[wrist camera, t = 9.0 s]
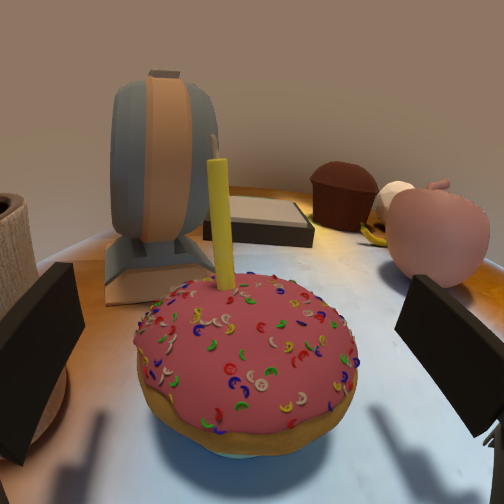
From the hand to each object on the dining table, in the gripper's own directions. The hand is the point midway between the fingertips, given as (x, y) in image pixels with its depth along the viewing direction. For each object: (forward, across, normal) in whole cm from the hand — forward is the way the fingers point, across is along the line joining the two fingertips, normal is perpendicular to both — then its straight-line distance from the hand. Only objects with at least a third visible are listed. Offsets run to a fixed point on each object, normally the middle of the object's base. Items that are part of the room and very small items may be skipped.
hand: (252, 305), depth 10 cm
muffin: (+35, +19, -7) cm, 41 cm away
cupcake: (0, 0, -7) cm, 7 cm away
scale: (+30, +5, -6) cm, 32 cm away
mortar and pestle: (+14, +21, -7) cm, 26 cm away
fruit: (+25, +21, -7) cm, 34 cm away
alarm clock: (+16, -7, -7) cm, 19 cm away
